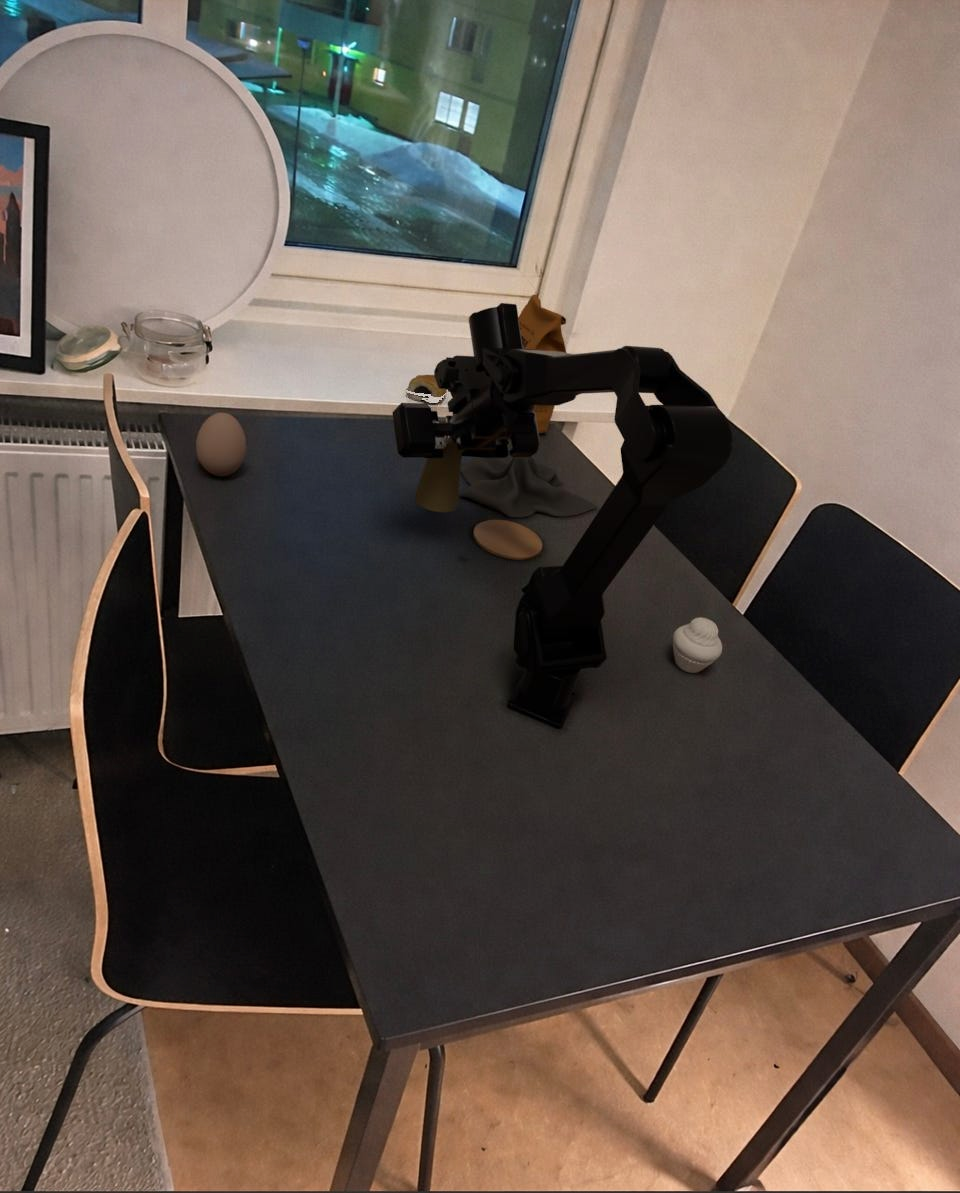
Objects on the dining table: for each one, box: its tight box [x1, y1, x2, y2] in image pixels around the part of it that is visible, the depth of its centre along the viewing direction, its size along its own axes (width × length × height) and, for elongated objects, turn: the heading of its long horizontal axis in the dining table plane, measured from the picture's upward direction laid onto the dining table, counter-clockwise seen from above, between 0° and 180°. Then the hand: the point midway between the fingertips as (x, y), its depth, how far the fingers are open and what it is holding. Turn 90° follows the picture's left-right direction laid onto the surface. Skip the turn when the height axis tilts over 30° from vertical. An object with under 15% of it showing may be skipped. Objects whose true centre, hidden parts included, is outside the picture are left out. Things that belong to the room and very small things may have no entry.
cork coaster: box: [472, 519, 543, 561], centre depth 129 cm, size 10×10×1 cm
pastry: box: [405, 374, 448, 404], centre depth 166 cm, size 9×7×4 cm
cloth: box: [460, 455, 596, 519], centre depth 141 cm, size 22×19×6 cm
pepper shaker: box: [413, 420, 465, 513], centre depth 119 cm, size 6×6×11 cm
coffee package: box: [518, 294, 567, 434], centre depth 159 cm, size 10×12×22 cm
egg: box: [195, 412, 247, 477], centre depth 124 cm, size 7×7×9 cm
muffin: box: [672, 616, 723, 674], centre depth 111 cm, size 6×6×7 cm
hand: (441, 452), depth 119 cm, fingers closed on pepper shaker, 5 cm apart
